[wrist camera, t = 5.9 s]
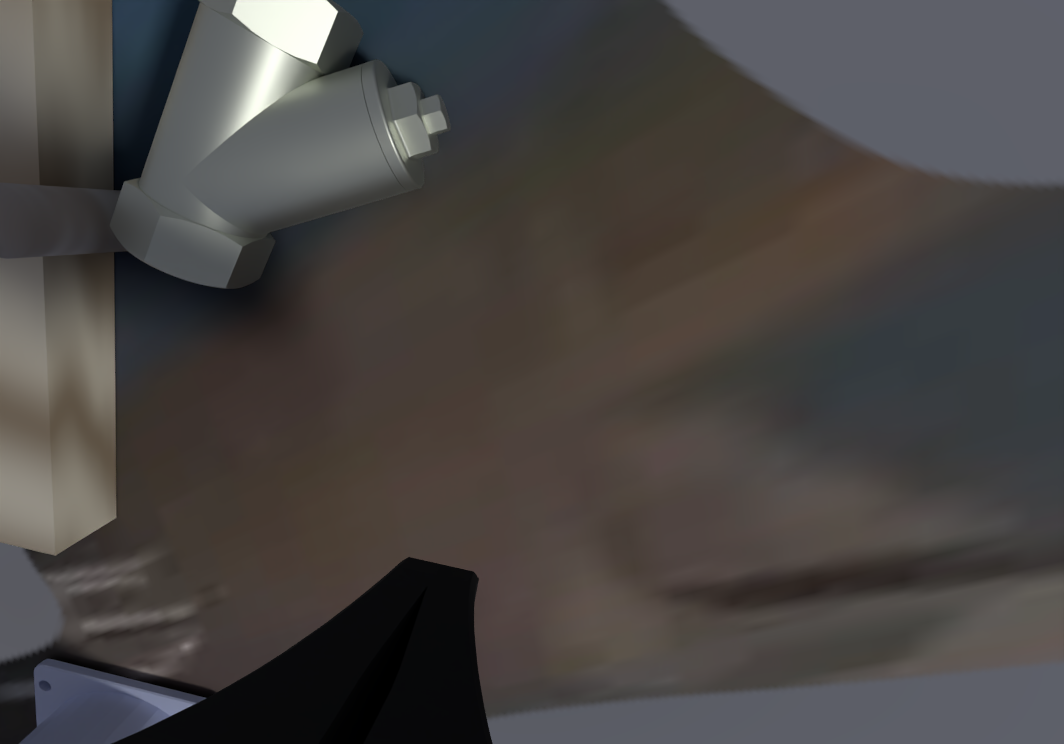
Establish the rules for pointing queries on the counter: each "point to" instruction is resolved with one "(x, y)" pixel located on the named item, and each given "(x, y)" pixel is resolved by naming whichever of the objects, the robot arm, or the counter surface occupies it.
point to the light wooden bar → (56, 273)
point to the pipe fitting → (269, 139)
